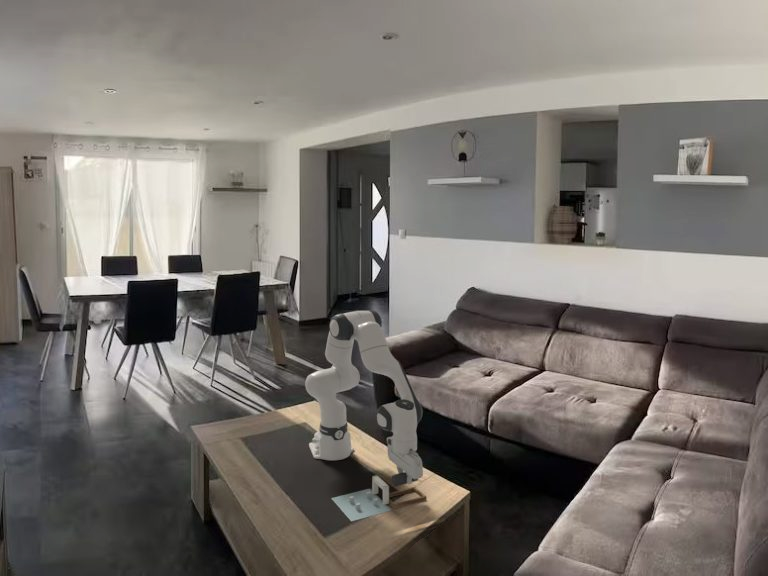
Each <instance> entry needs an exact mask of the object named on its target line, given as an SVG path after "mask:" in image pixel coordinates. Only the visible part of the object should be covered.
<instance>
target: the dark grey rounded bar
mask: <svg viewBox="0 0 768 576" xmlns="http://www.w3.org/2000/svg"><path fill="white" fill-rule="evenodd" d="M403 472H404V471H403ZM407 477H408V476H407V473H405V472H404V473H400V474H398V473H396V474H393V475H392V476H391V482H392V485H393V486H394V487H398V486H403V485H408V484H407V483H406V478H407ZM418 480H419V479H413V478H412V483H414V482H417V481H418Z"/></svg>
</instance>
